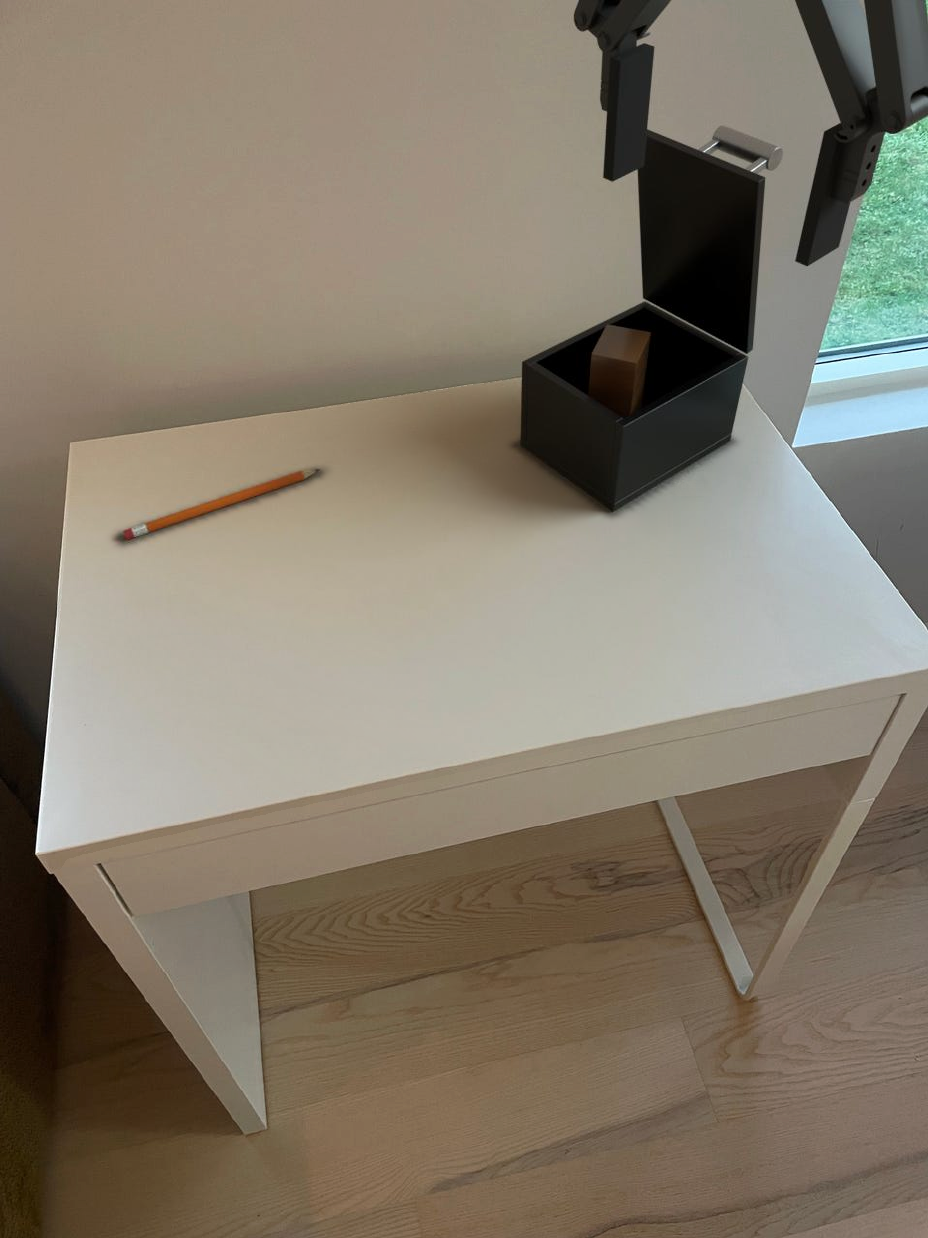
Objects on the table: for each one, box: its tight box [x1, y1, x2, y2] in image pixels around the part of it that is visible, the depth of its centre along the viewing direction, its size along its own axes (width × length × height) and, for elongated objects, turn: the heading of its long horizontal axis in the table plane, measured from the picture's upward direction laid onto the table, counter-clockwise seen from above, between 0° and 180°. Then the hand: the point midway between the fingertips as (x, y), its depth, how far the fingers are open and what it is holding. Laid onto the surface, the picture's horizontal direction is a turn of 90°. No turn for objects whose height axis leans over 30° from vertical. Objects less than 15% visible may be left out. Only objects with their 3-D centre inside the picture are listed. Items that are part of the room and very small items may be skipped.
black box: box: [519, 300, 749, 513], centre depth 90 cm, size 16×13×9 cm
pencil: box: [122, 468, 321, 540], centre depth 89 cm, size 1×19×1 cm, turn 118°
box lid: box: [636, 124, 784, 355], centre depth 84 cm, size 17×13×7 cm
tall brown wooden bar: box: [588, 325, 651, 418], centre depth 88 cm, size 4×5×11 cm
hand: (713, 211), depth 54 cm, fingers open, 13 cm apart
